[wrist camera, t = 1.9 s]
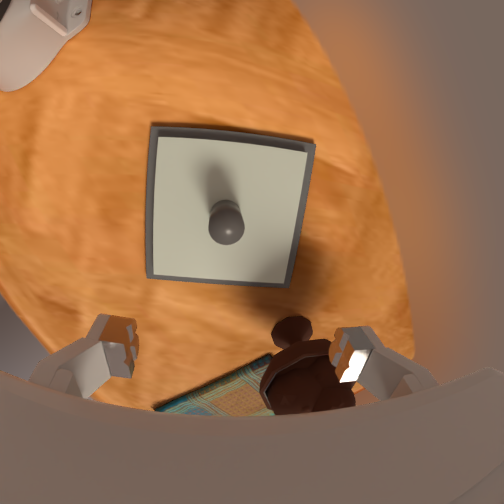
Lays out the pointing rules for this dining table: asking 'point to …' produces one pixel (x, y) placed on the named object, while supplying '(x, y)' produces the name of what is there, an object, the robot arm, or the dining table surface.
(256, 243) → the lid
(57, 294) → the dining table surface
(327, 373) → the ice cream bowl
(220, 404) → the dish towel
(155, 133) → the mat
